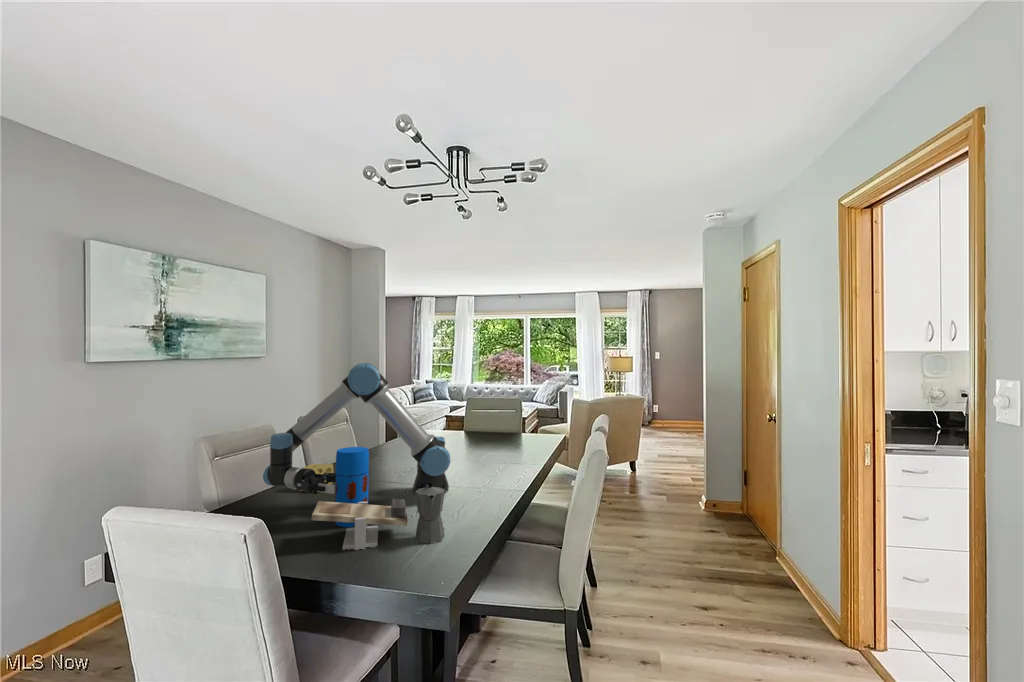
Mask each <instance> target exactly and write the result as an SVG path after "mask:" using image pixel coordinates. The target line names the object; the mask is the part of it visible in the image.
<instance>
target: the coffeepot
mask: <svg viewBox="0 0 1024 682" xmlns="http://www.w3.org/2000/svg"><path fill="white" fill-rule="evenodd" d="M432 484H433V482H431V481H429V482H428V484H427V485H426V488H421V489H418V490H417V491H416V492H415V494H414V496H415V500H416V501H415V502H416V509H417V513H418V514H419V517H418V519H417V520H418V521H417V524H416V530H415V537H414V540H415V541H416V540H417V541H418V542H417V541H416V542H417V543H419V542H420V544H422V543H433V544H435V543H434V542H438V541H440V542H442V541H443V540H444V539H443V538H445V537H444V536H445V530H444V525H443V523H444V522H443V519H442V516H441V513H442V511H443V508H444V507H443V506H444V500H445V494H446V493H445V490H444V489H442V488H439V487H432ZM442 539H443V540H442ZM441 540H442V541H441ZM438 543H439V542H438Z"/></svg>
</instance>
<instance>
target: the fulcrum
mask: <svg viewBox="0 0 1024 682" xmlns="http://www.w3.org/2000/svg"><path fill="white" fill-rule="evenodd" d="M358 504H368V505H369V500H368V501H366V502H358ZM378 535H379V525H373V526H372V525H371V526H368V523H366V517H361V518H355V527H346V530H345V535H344V537H343V538H344V539H343V542H342V543H343V544H342V551H346V550H345V549H347V550H354V551H359V549H363V550H366V548H365V547H370V548H376V547H375V546H377V547H378V543H379V542H378V541H379V539H378V538H379V536H378Z"/></svg>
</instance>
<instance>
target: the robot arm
mask: <svg viewBox="0 0 1024 682" xmlns="http://www.w3.org/2000/svg"><path fill="white" fill-rule="evenodd" d="M359 398H360V399H361V400H362V401H363V402H364V404H370V405H371V406H372V407H374V409H375V410H376V411H377V413H379V414H380V415H381V417H382V418H383V420H385V422H387V424H388V425H389V426H390V427H391V428H392V429H393V431H395V433H396V434H397V436H399V437H400V438H401V440H402V441H404V442H405V444H406V445H407V446H408V447H409V449H410V450H411V451H410V456H411V457H412V458H413V459H414V460H415V461H416V462H417V463H416V474H415V475H416V476H415V478H414V482H413V484H412V493H413V492H414V493H415V492H416V491H417V490H418V489H421V488H426V485H427V484H428V482H429V481H431V482H433V484H432V487H439V488H442V489H444V490H445V492H446V491H448V489H449V488H450V486H449V481H448V479H447V475H446V471H448V469H449V467H450V464H451V454H450V452H449V450H448V449H447V448H446V439H445V437H444V436H435V435H434V434H430V433H427V431H426V430H425V428H423V427H422V426H421V425H420V423H419V422H418V421H417V420H416V419H415V418H414V416H412V415H411V413H410V412H409V411H408V410H407V409H406V407H405V406H404V405H403V404H402V403H401V401H400V400H399V399H398V398H397V397H396V396H395V395H394V393H393V392H391V390H390V383H389V382H388V381H387V379H386V378H385V377H384V376H383V375H382V374H381V372H380V371H379V369H378V368H377V367H376V366H375V365H373V364H371V363H370V362H360V363H358V364H356V365H354V366H353V367H352V368H351V369H350V370H349V372H348V374H347V376H346V377H345V378H344V379H342V380H341V384H340V385H339V386H338V387H337V388H336V389H335V390H334V391H333V392H331V393H330V394H329V395H328V396H327V397H325V398H324V399H322V401H321V402H319V404H317V405H316V406H315V407H314V408H313V409H311V410H310V411H309V412H307V414H306V415H303V417H302V418H300V420H298V421H297V422H296V423H295V424H294V425H292V427H290V428H288V430H287V431H286V432H278V433H273V434H272V435H271V436H270V442H269V447H270V449H269V451H270V452H269V453H270V454H269V455H270V456H269V458H270V460H269V462H270V463H269V465H267V467H266V468H265V469H264V472H263V474H262V480H263V482H264V483H265V485H267V486H272V487H275V488H286V489H293V491H296V490H298V491H299V490H304V491H305V492H306V493H307V494H311V493H312V495H317V494H318V493H317V491H318V492H320V493H322V494H323V493H324V494H330V495H331V494H332V495H334V494H336V484H332V485H329V484H328V483H330V482H332V483H336V472H333V473H323V474H316V473H315V471H314V470H312V469H305V468H303V467H295V466H293V452H294V451H295V450H296V449H298V447H300V446H301V445H302V444H303V443H304V442H305V441H306V440H308V439H309V438H310V437H312V435H314V434H315V433H316V432H317V431H318V430H319V429H321V428H322V427H323V426H324V425H325V424H326V423H328V421H330V420H331V419H332V418H334V417H335V416H336V415H337V414H338V413H339V412H341V410H343V409H344V408H345V407H346V406H347V405H348V404H350V403H351V402H352V401H354V399H359ZM325 480H326V482H325ZM449 490H450V489H449ZM312 491H313V492H312ZM448 492H449V491H448ZM414 493H413V494H414ZM446 493H447V492H446Z"/></svg>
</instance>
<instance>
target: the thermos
mask: <svg viewBox="0 0 1024 682" xmlns="http://www.w3.org/2000/svg"><path fill="white" fill-rule="evenodd" d="M369 459H370V450H369V448H368V447H364V446H363V447H362V446H353V447H352V446H351V447H350V446H348V447H342V448H339V449H337V450H336V455H335V473H336V482H335V502H339V503H353V504H358V502H366V501H368V502H369V483H370V482H369V478H370V477H369V474H370V473H369V467H370V465H369V463H370V462H369V461H370V460H369ZM336 524H337V525H338V526H337V525H336ZM335 525H336V526H337V527H340V526H342V527H341V528H354V527H353V526H355V523H351V522H335Z"/></svg>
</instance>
